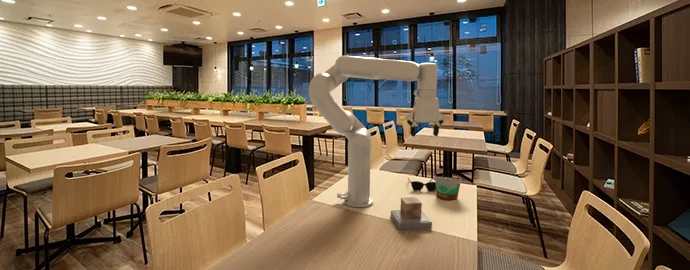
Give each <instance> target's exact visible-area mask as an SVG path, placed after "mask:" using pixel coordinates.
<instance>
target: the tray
mask: <svg viewBox="0 0 690 270" xmlns="http://www.w3.org/2000/svg"><path fill="white" fill-rule="evenodd" d="M390 218H391V219H392V221H393V222H394V224H395V226H396V227H397V229H398V230H399V231H409V230H410V231H412V230H428V229H429V230H431V229H432V227H433V221H432V220H431V219H430V218H429V217H428V216H427V215H426V214H425V213H424V212H423V210H421V218H419V219H405V218H404V217H403V215H402V214H401V213H400V209H395V210H390Z"/></svg>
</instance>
